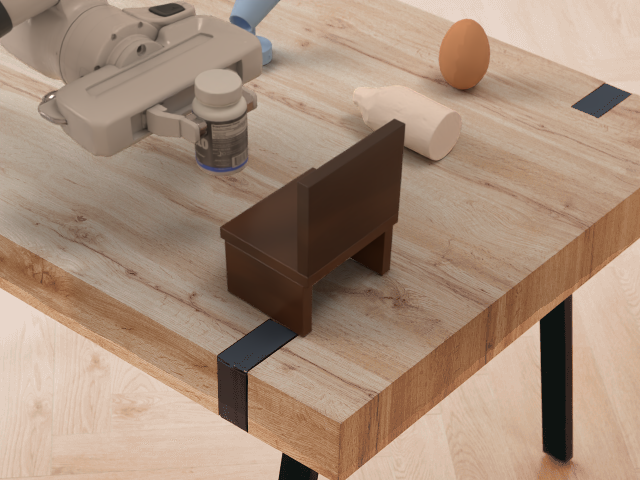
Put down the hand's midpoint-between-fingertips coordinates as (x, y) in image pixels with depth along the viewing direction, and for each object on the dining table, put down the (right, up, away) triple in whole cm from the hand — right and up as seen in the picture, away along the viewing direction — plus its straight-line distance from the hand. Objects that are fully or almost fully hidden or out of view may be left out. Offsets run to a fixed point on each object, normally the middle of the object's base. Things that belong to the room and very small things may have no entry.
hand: (227, 118), depth 93 cm
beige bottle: (+15, +2, +23) cm, 27 cm away
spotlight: (-1, +13, +34) cm, 36 cm away
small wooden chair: (+7, -14, +4) cm, 16 cm away
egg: (+23, +9, +31) cm, 39 cm away
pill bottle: (-1, -3, +4) cm, 5 cm away
